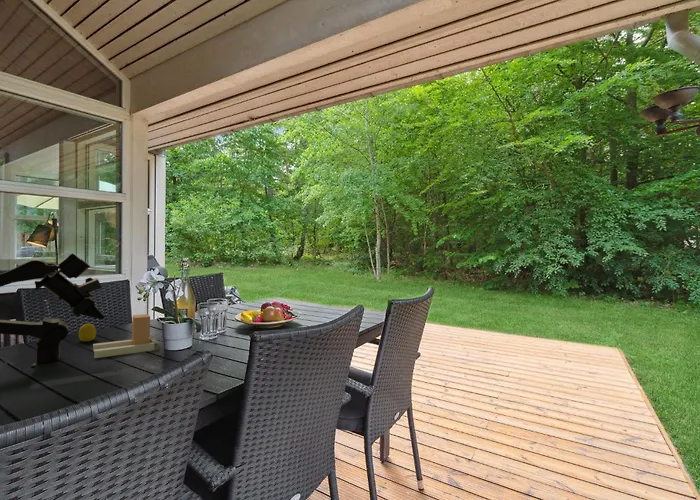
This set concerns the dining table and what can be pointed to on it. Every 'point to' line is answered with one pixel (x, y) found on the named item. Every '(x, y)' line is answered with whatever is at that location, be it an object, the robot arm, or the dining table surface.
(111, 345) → the chute
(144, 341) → the block
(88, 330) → the lemon
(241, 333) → the dining table surface
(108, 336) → the dining table surface
